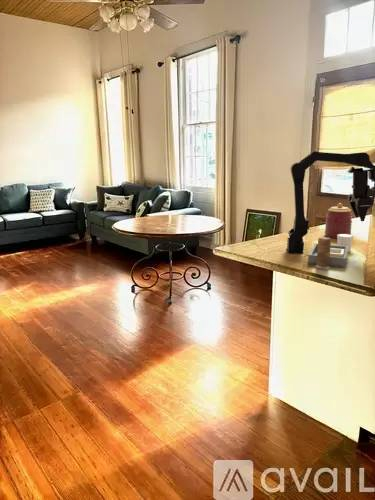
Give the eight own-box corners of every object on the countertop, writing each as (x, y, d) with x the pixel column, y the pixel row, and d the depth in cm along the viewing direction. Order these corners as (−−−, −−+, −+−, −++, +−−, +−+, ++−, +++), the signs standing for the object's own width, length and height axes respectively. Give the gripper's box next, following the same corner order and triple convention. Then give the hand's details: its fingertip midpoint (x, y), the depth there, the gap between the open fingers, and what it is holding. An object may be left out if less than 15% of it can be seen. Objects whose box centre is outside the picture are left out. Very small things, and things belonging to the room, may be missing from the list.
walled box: (307, 264, 150) (308, 252, 148) (314, 252, 167) (314, 241, 166) (345, 268, 144) (346, 255, 142) (347, 255, 161) (348, 244, 160)
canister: (331, 232, 205) (334, 200, 200) (355, 236, 196) (358, 202, 191) (319, 236, 197) (322, 203, 192) (343, 240, 187) (346, 205, 183)
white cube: (341, 252, 165) (342, 237, 164) (332, 248, 172) (334, 234, 170) (355, 251, 167) (356, 236, 165) (346, 247, 173) (347, 233, 171)
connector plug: (318, 270, 142) (320, 240, 139) (314, 266, 146) (316, 237, 143) (330, 270, 142) (332, 239, 139) (326, 266, 146) (328, 237, 143)
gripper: (388, 183, 145) (387, 222, 149) (374, 179, 163) (373, 214, 166) (358, 185, 147) (357, 223, 151) (347, 181, 165) (347, 216, 169)
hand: (359, 219), depth 159 cm, fingers open, 9 cm apart
